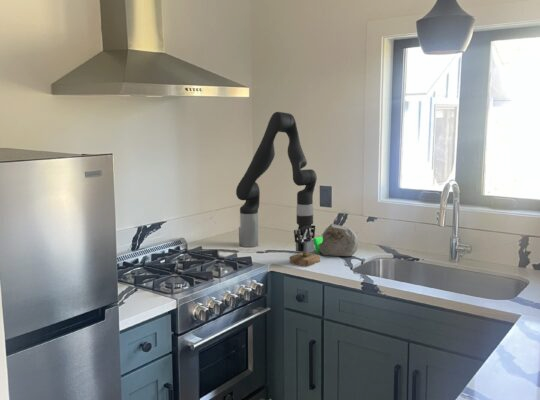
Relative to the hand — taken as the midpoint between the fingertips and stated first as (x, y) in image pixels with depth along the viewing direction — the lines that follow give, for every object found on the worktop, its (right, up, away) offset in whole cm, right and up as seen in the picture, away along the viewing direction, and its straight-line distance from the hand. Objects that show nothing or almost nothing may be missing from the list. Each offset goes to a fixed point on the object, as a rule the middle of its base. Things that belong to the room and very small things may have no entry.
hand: (304, 249), depth 249 cm
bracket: (+14, -2, +26) cm, 30 cm away
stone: (+17, -4, +13) cm, 22 cm away
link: (0, -1, 0) cm, 1 cm away
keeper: (0, -6, +1) cm, 6 cm away
